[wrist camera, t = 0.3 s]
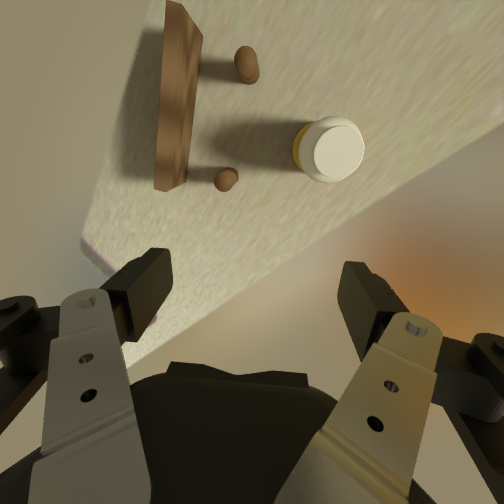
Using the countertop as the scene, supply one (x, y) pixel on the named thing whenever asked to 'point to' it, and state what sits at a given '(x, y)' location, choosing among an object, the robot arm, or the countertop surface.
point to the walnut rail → (176, 96)
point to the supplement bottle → (328, 149)
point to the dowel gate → (249, 74)
